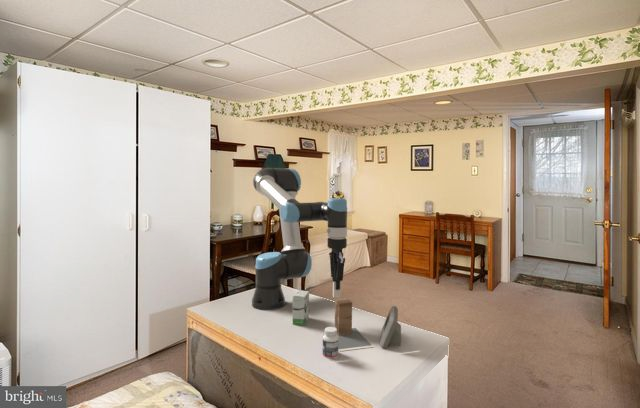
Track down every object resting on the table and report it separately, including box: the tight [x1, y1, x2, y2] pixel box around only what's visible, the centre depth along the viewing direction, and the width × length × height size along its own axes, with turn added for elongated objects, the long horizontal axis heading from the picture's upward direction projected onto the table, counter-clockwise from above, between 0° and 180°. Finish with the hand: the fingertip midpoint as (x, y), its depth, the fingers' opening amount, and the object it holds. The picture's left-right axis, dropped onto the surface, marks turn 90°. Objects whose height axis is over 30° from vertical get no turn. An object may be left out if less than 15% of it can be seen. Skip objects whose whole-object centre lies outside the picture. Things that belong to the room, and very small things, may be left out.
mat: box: [337, 327, 374, 352], centre depth 129 cm, size 17×12×1 cm
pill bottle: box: [322, 326, 340, 359], centre depth 117 cm, size 5×5×9 cm
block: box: [334, 297, 353, 335], centre depth 135 cm, size 5×5×12 cm
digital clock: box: [379, 305, 402, 349], centre depth 128 cm, size 16×9×11 cm, turn 156°
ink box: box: [292, 289, 310, 326], centre depth 145 cm, size 9×5×12 cm, turn 168°
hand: (336, 296), depth 142 cm, fingers closed
